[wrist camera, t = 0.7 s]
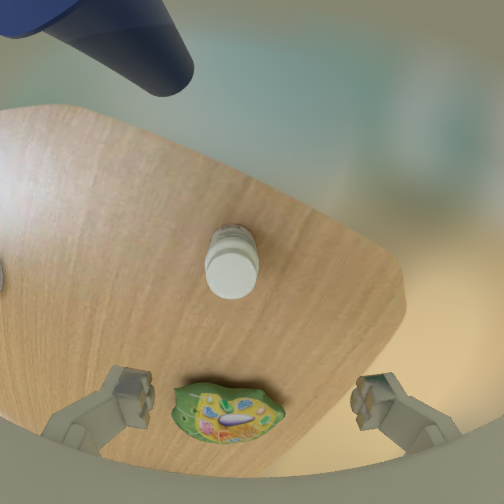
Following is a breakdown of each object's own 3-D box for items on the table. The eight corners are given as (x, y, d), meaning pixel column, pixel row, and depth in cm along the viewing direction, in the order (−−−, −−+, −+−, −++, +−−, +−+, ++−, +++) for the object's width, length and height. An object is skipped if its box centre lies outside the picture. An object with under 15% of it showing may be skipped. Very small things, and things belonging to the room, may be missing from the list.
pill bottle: (237, 274, 32) (237, 314, 24) (201, 250, 31) (189, 283, 23) (264, 240, 31) (273, 271, 23) (227, 214, 30) (223, 236, 22)
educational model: (274, 429, 41) (277, 455, 36) (176, 421, 40) (171, 447, 34) (290, 376, 37) (296, 405, 32) (172, 366, 36) (165, 395, 30)
